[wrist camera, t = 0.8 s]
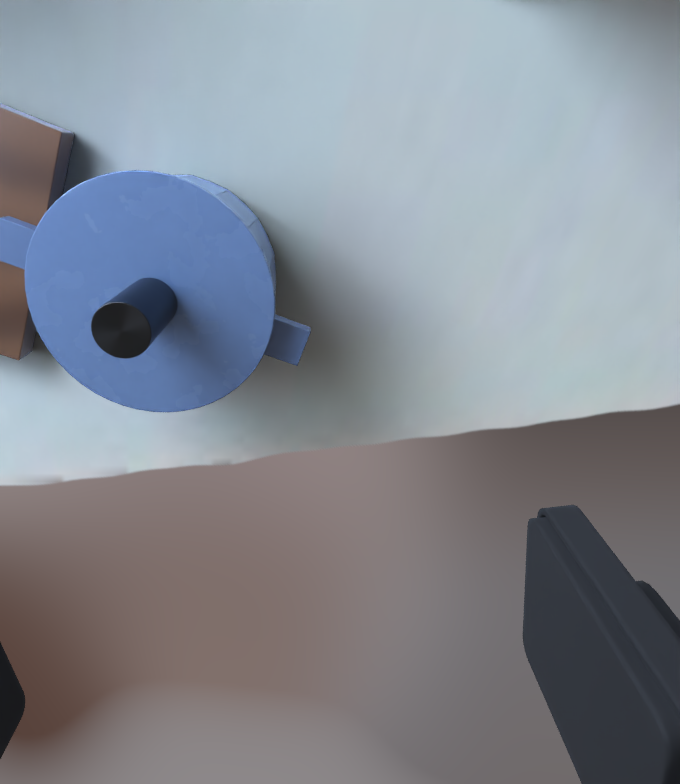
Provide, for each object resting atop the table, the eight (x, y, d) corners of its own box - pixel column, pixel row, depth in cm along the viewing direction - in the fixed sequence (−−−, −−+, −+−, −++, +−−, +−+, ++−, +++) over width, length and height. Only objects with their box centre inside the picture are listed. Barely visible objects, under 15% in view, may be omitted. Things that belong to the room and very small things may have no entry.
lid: (59, 126, 28) (-11, 119, 22) (309, 228, 31) (309, 246, 25) (16, 361, 33) (-52, 408, 27) (235, 432, 36) (219, 489, 30)
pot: (74, 125, 35) (7, 118, 28) (337, 232, 39) (343, 252, 31) (39, 307, 40) (-27, 344, 32) (277, 388, 43) (269, 440, 36)
